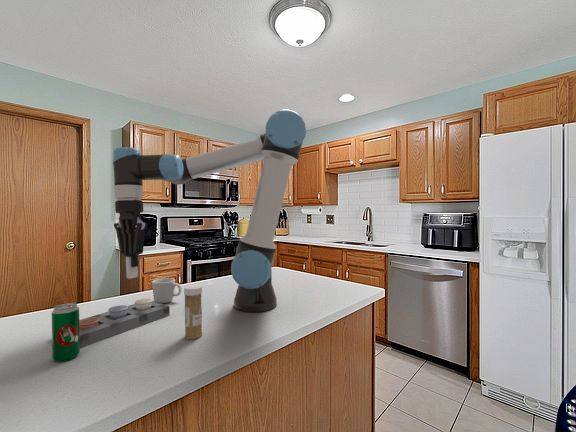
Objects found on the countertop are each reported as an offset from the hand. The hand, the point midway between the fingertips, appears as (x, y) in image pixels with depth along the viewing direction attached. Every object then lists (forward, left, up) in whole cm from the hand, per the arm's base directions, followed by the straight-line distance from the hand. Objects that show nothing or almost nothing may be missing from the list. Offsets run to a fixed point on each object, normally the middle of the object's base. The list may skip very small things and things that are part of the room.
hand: (132, 277), depth 89 cm
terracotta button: (+1, +12, -12) cm, 17 cm away
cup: (+8, -18, -14) cm, 24 cm away
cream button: (+1, -4, -11) cm, 12 cm away
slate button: (+1, +4, -11) cm, 12 cm away
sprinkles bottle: (-24, -2, -14) cm, 28 cm away
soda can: (-8, +21, -14) cm, 26 cm away
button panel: (+1, +4, -14) cm, 14 cm away
